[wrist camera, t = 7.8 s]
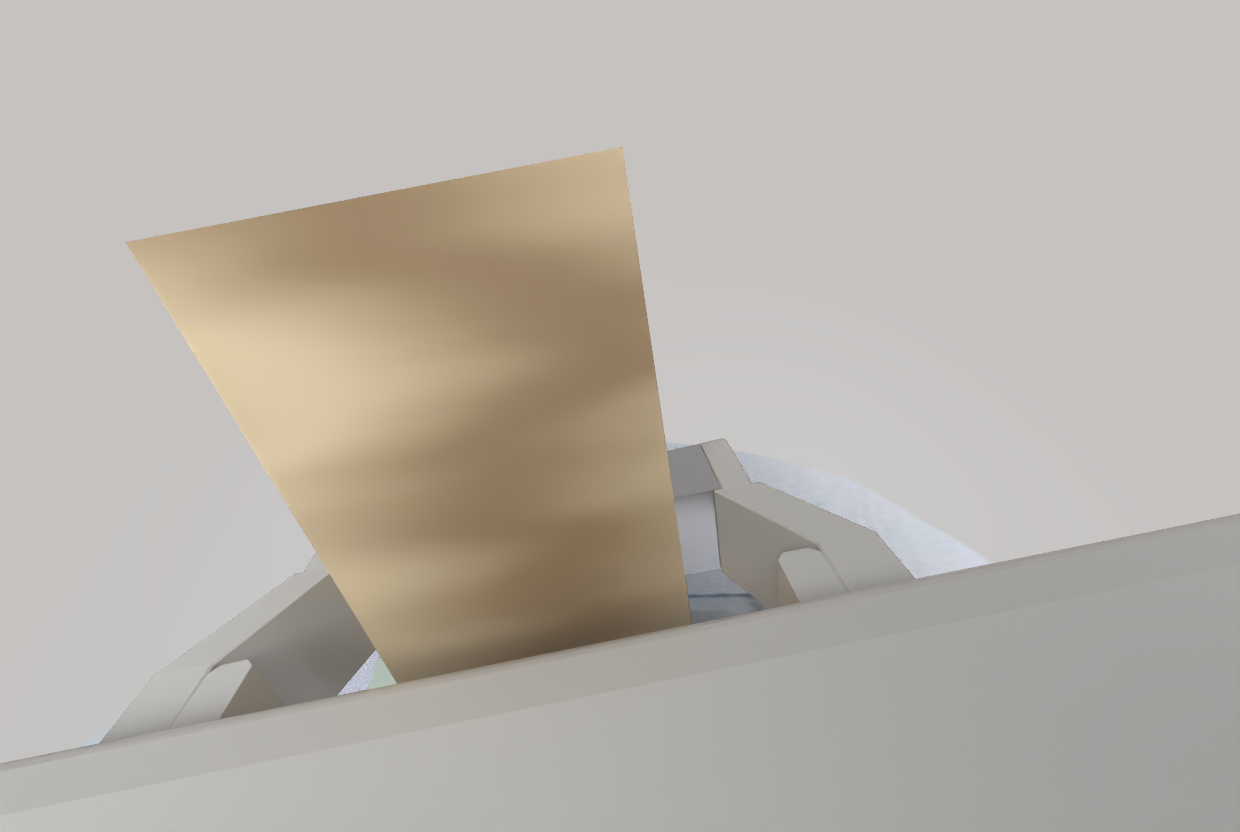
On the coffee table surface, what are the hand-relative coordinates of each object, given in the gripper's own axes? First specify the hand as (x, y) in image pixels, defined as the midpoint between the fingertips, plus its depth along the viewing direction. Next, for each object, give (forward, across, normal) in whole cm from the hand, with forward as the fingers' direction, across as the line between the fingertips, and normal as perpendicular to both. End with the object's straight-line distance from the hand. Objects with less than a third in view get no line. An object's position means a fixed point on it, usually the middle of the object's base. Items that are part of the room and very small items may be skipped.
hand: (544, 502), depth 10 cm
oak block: (-1, 0, +8) cm, 8 cm away
